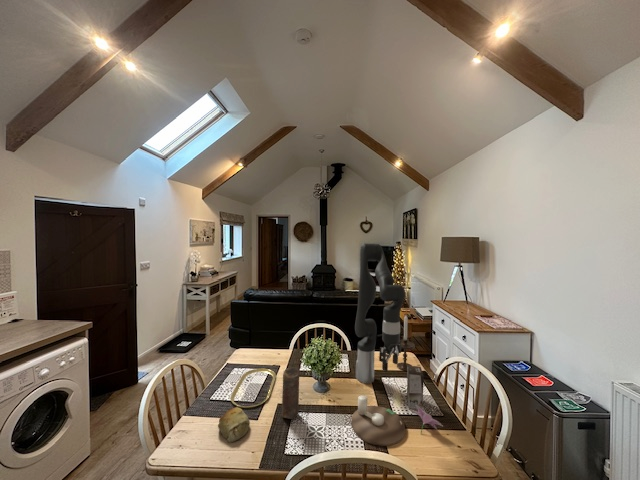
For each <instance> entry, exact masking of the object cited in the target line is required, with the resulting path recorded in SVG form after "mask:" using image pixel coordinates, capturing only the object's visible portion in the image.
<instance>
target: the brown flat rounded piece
mask: <svg viewBox="0 0 640 480" xmlns="http://www.w3.org/2000/svg"><path fill="white" fill-rule="evenodd" d="M367 411H368V412H369V413H371V414H374V413H379V414H381V415H383V417H384V424H383V425H381V426H377V425H374V424H373V423H372V419H371V418H369V417H367V416H366V415H360V414H359V413H358V409H357V410H355V411H354V412H353V414H352V416H351V418H350V419H351V420H350V421H351V423H350V424H351V425H352V426H351V428H353V429H352V431H353V430H354V431H353V432H355V433H356V434H355V433H354V434H355V435H356V436H357V438H359V437H360V438H359V439H361V440H362V441H363V442H365V443H367V444H371V445H374V446H377V447H378V446H379V447H389V446H393V445H396V444H398V443H400V442H401V441H402V440H403V438H404V437H405V432H406V424H405V422H404V421H403V418H401V417H400V415H398V413H396V412H395V411H393V410H391V409H390V408H387V407H383V406H378V405H367Z"/></svg>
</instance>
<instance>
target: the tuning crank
mask: <svg viewBox="0 0 640 480" xmlns="http://www.w3.org/2000/svg"><path fill="white" fill-rule="evenodd" d="M367 406H368V397H367V396H366V395H359V396H358V397H357V410H358V413H359V414H360V415H366V416H367V417H369V418H371V419H372V423H373V424H374V425H377V426H381V425H383V424H384V417H383V415H381V414H379V413H374V414H371V413H369V412H368V411H367Z"/></svg>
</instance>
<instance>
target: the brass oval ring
mask: <svg viewBox="0 0 640 480" xmlns="http://www.w3.org/2000/svg"><path fill="white" fill-rule="evenodd" d="M255 373H267V374H269V375H271V376H272V380H271V382H270V386H269V389H268V392H267V395H266V398H265V399H264V400H263V401H261V402H260V403H257V404H254V405H250V406H249V405H248V406H246V405H245V406H243V405H238V404H237V403H236V401H235V397H236V396H237V394H238V392H239V390H240V388H241V386H242V384H243V382H244V380H245V379H246V377H247V376H250V375H252V374H255ZM276 377H277V375H276V373H275V372H274V371H273V370H271V369H268V368H254V369H251V370H247V371H246V372H245V373H243V374H242V375H241V377H240V378H239V381H238V382H237V384H236V386H235V388H234V389H233V391H232V393H231V395H230V401H231V403H232V404H233V405H234V406H235V407H238V408H241V409H243V408H244V409H252V408H256V407H259V406H261V405H263V404H264V403H265V402H266V401H268V399H269V397H270V396H271V393H272V389H273V387H274V383H275V380H276ZM239 387H240V388H239ZM238 389H239V390H238ZM236 393H237V394H236ZM234 401H235V402H234Z"/></svg>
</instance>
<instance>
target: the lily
mask: <svg viewBox="0 0 640 480" xmlns="http://www.w3.org/2000/svg"><path fill="white" fill-rule="evenodd" d="M416 407H417V411H416V410H413V412H414V413H415V414H417V415H418V416H419V417H420V419H421V420H422V427H421V430H420V434H422V432H423V428H424V426H425V424H426V425H427V424H429V425H430V426H432V427H433V428H434V429H435V430H438V428H437V427H436V425H439V426H441V427H444V425H443V424H442V423H441V422H440V421H438V420H437V419H435V418H433V417H432V415H431V414H429V413H426V412H425V410H424V409H421V408H420V407H418V406H417V405H416Z"/></svg>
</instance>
